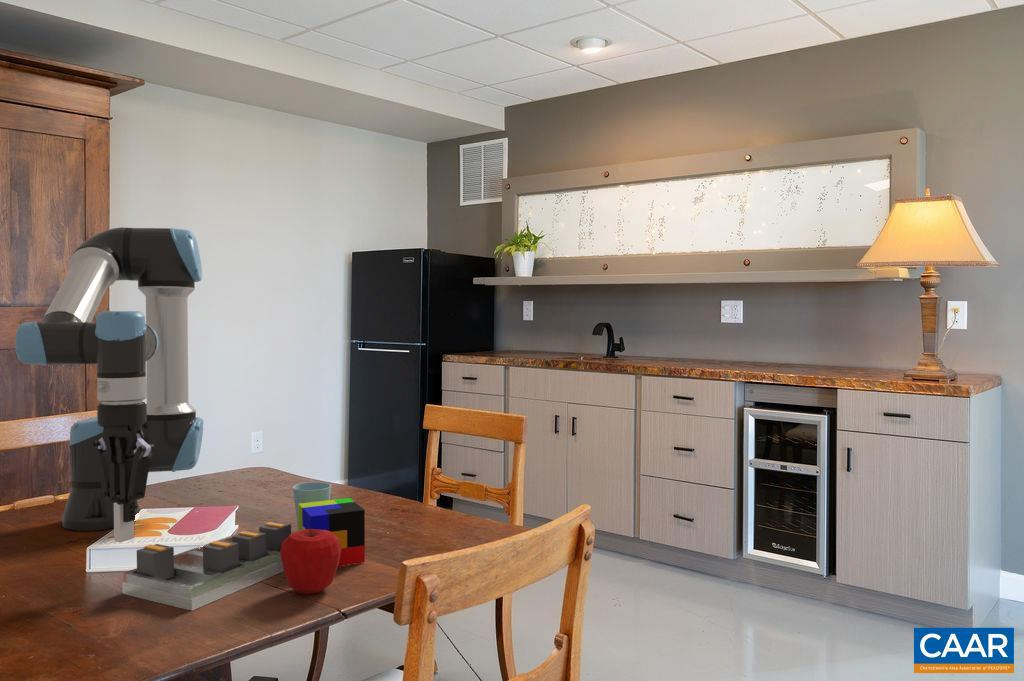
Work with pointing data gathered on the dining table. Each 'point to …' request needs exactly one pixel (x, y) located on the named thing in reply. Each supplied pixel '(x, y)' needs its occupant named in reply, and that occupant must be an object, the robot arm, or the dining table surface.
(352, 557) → the puzzle toy
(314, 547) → the apple
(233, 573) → the panel
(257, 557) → the block
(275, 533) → the block
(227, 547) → the block
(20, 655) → the dining table surface
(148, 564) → the block
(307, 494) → the cup
